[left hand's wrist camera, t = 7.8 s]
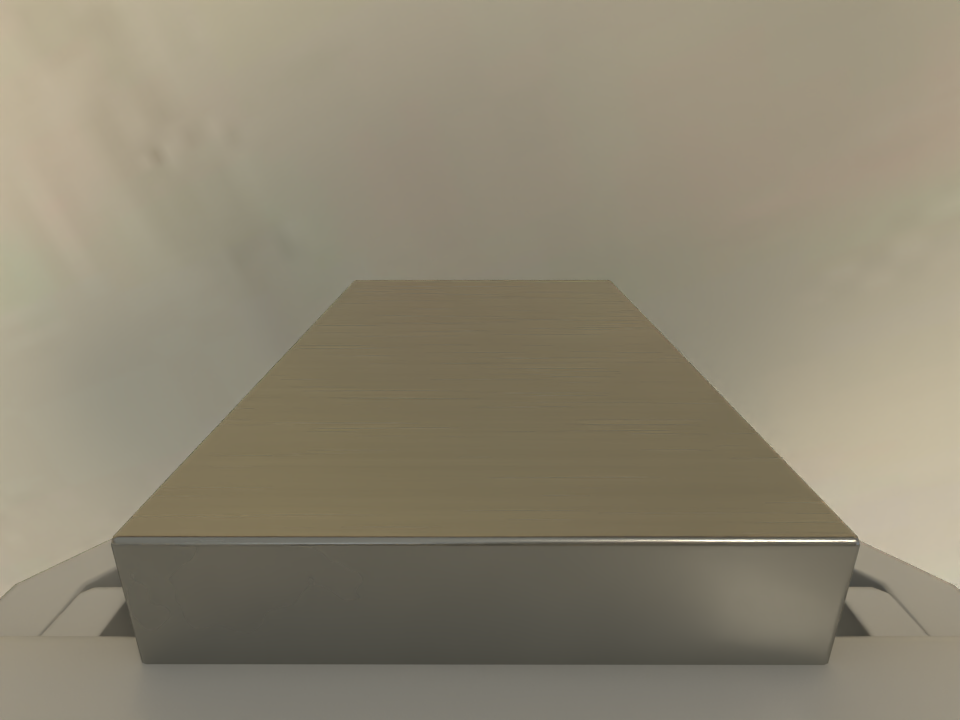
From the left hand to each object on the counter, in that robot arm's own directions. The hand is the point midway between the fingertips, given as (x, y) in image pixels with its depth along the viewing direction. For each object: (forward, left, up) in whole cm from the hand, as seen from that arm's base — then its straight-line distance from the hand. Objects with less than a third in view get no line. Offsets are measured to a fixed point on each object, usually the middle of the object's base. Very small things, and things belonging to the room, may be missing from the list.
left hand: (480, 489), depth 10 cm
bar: (+9, 0, -3) cm, 9 cm away
